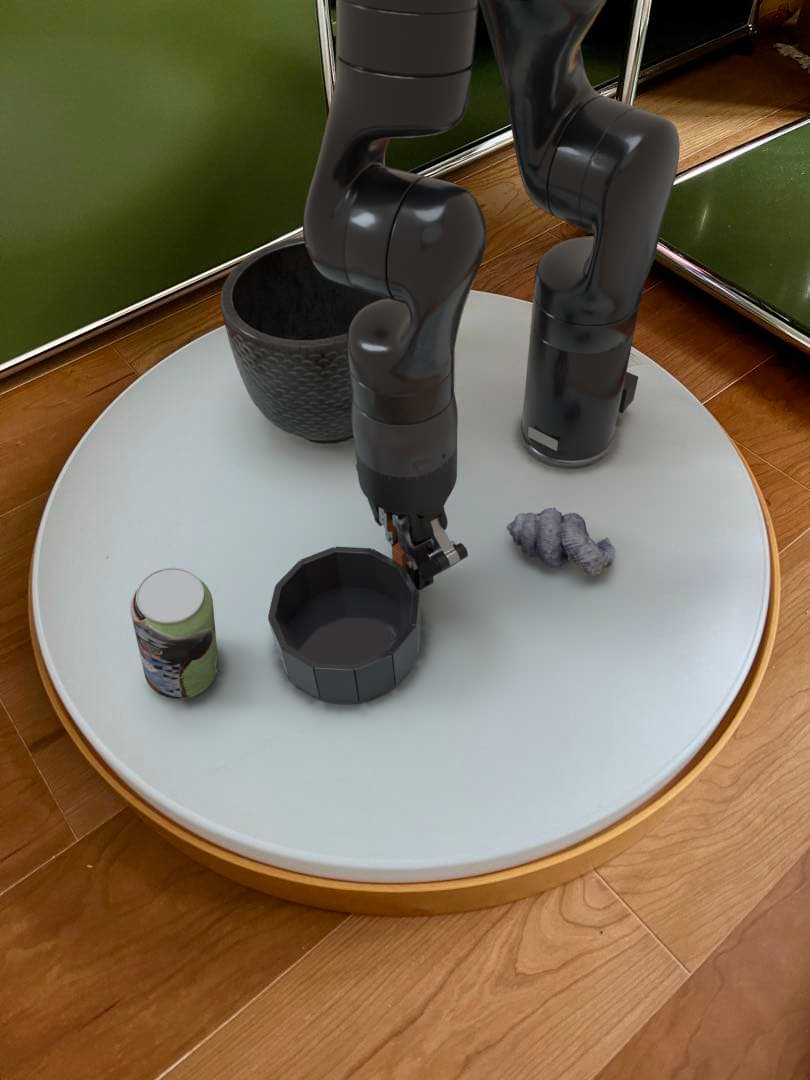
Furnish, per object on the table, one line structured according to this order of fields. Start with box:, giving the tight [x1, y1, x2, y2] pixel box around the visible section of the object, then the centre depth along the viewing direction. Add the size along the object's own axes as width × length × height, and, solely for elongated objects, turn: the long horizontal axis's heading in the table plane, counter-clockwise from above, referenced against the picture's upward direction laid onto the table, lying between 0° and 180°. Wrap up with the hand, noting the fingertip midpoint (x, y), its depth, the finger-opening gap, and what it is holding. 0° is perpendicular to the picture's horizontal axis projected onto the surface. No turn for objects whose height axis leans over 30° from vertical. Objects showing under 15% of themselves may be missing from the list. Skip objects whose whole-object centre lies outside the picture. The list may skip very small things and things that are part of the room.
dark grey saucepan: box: [267, 543, 422, 705], centre depth 75 cm, size 16×12×7 cm
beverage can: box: [130, 567, 219, 700], centre depth 71 cm, size 6×7×12 cm
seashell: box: [505, 506, 616, 577], centre depth 80 cm, size 5×5×10 cm
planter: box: [220, 236, 386, 445], centre depth 88 cm, size 17×17×16 cm
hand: (412, 574), depth 78 cm, fingers closed on dark grey saucepan, 2 cm apart
